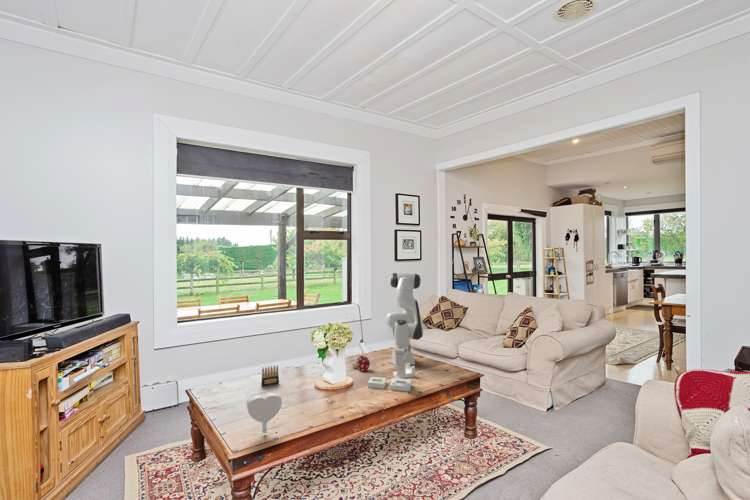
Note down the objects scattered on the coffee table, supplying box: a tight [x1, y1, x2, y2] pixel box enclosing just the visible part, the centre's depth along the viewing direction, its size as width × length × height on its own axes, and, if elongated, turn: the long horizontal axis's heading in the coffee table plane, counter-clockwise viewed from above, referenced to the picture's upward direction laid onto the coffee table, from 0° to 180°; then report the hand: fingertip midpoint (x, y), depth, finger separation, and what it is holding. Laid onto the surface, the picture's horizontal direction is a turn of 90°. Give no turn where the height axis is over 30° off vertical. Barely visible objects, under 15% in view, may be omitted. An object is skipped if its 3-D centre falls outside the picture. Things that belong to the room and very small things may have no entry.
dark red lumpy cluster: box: [352, 355, 371, 373], centre depth 267 cm, size 11×11×15 cm
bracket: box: [392, 363, 416, 379], centre depth 253 cm, size 13×7×8 cm, turn 120°
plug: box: [396, 361, 406, 377], centre depth 233 cm, size 3×5×11 cm, turn 79°
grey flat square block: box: [367, 376, 387, 390], centre depth 236 cm, size 10×10×4 cm
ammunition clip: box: [260, 364, 280, 387], centre depth 238 cm, size 11×2×12 cm, turn 118°
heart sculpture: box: [246, 392, 283, 434], centre depth 178 cm, size 16×5×18 cm, turn 116°
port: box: [389, 377, 413, 394], centre depth 233 cm, size 12×12×5 cm
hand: (401, 369), depth 233 cm, fingers closed on plug, 3 cm apart
